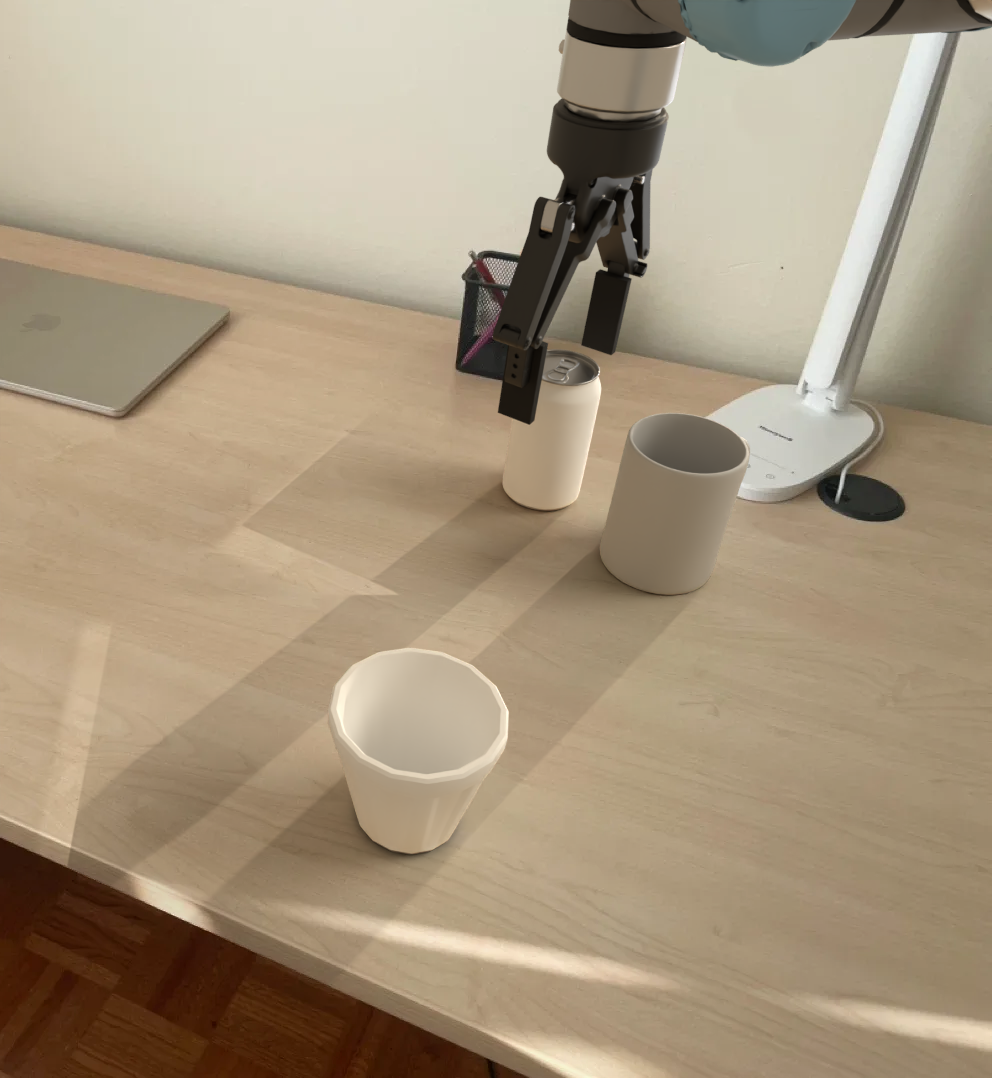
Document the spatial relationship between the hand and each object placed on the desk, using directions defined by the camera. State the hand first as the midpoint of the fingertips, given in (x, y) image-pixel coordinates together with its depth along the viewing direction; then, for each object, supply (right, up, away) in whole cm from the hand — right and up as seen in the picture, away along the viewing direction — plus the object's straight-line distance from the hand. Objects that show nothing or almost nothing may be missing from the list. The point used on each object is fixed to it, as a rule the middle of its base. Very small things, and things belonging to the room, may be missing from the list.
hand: (558, 381), depth 84 cm
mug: (+9, -14, 0) cm, 16 cm away
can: (0, -9, +7) cm, 11 cm away
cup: (-15, -29, -19) cm, 38 cm away
